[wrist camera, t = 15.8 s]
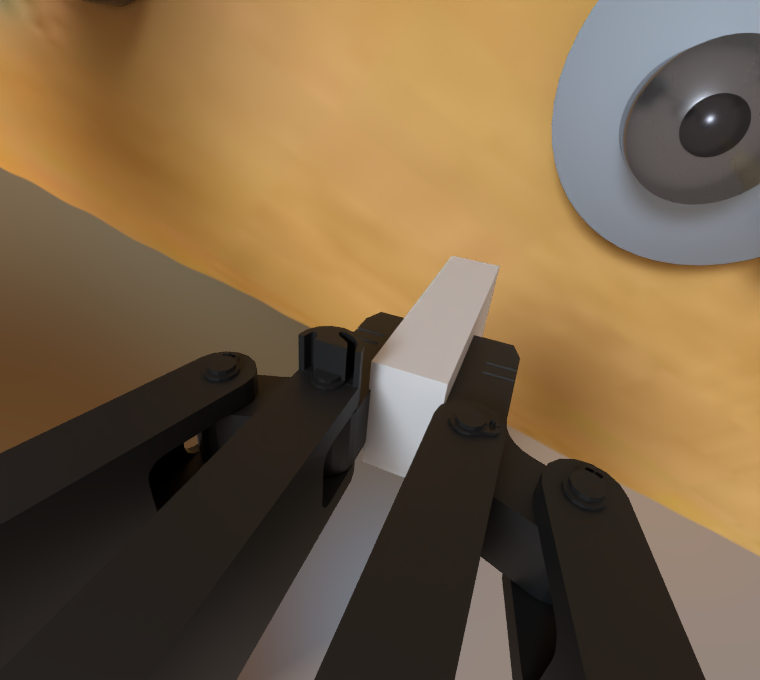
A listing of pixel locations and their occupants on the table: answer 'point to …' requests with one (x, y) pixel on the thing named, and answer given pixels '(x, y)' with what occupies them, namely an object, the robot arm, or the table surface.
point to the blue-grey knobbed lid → (602, 122)
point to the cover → (697, 123)
